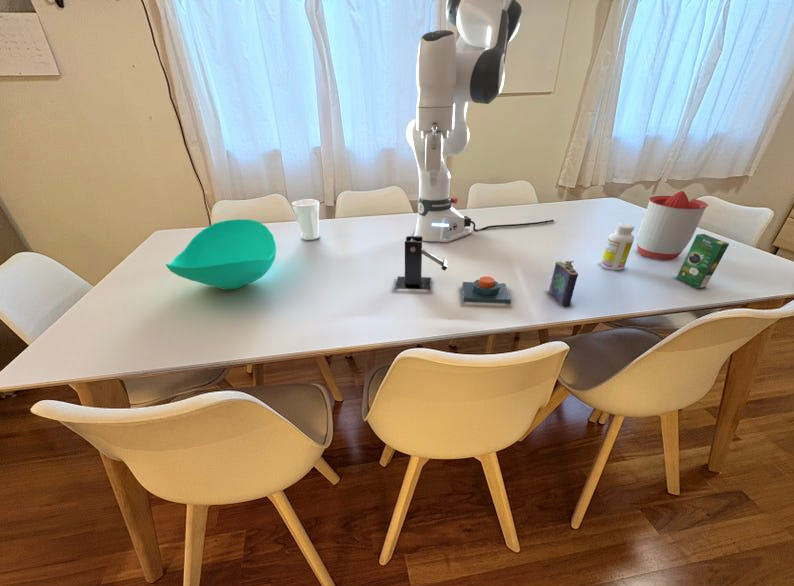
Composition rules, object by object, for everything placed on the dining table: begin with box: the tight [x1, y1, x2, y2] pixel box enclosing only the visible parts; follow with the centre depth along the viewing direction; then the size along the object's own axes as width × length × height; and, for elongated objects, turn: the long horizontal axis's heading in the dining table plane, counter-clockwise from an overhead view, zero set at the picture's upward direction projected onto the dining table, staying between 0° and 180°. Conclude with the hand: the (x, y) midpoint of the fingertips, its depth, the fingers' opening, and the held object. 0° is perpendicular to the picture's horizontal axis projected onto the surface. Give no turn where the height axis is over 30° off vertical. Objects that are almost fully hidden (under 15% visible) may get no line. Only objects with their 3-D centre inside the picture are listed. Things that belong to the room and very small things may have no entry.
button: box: [478, 276, 496, 288], centre depth 99 cm, size 4×4×2 cm
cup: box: [291, 198, 320, 241], centre depth 140 cm, size 10×10×13 cm
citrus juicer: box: [636, 190, 709, 261], centre depth 121 cm, size 16×17×20 cm
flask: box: [548, 260, 579, 308], centre depth 98 cm, size 9×3×11 cm, turn 8°
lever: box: [410, 238, 448, 271], centre depth 102 cm, size 12×5×2 cm, turn 86°
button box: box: [461, 279, 512, 304], centre depth 101 cm, size 12×10×4 cm
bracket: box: [394, 235, 432, 291], centre depth 104 cm, size 10×8×14 cm
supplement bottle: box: [600, 222, 635, 271], centre depth 114 cm, size 7×7×13 cm
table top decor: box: [165, 218, 277, 290], centre depth 108 cm, size 40×28×13 cm
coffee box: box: [676, 233, 730, 290], centre depth 104 cm, size 8×3×13 cm, turn 13°
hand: (433, 184), depth 96 cm, fingers closed
